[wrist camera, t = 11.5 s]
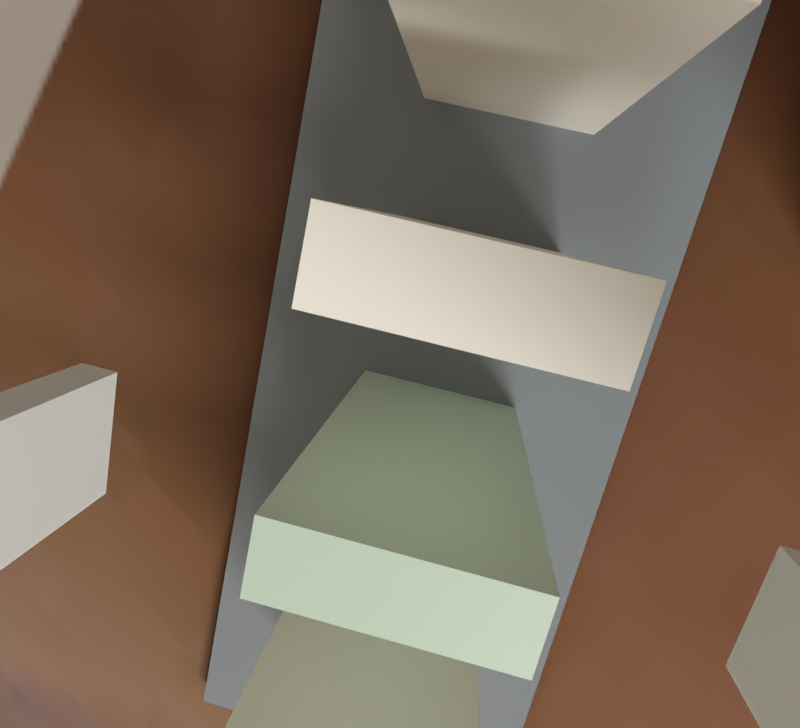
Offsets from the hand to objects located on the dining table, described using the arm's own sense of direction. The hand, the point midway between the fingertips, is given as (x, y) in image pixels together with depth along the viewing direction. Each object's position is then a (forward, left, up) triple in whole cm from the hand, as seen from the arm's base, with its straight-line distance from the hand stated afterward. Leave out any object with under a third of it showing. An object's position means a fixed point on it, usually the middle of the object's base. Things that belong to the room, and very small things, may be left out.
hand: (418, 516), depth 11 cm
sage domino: (0, 0, -8) cm, 8 cm away
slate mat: (0, 0, -9) cm, 9 cm away
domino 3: (-5, 0, -8) cm, 9 cm away
